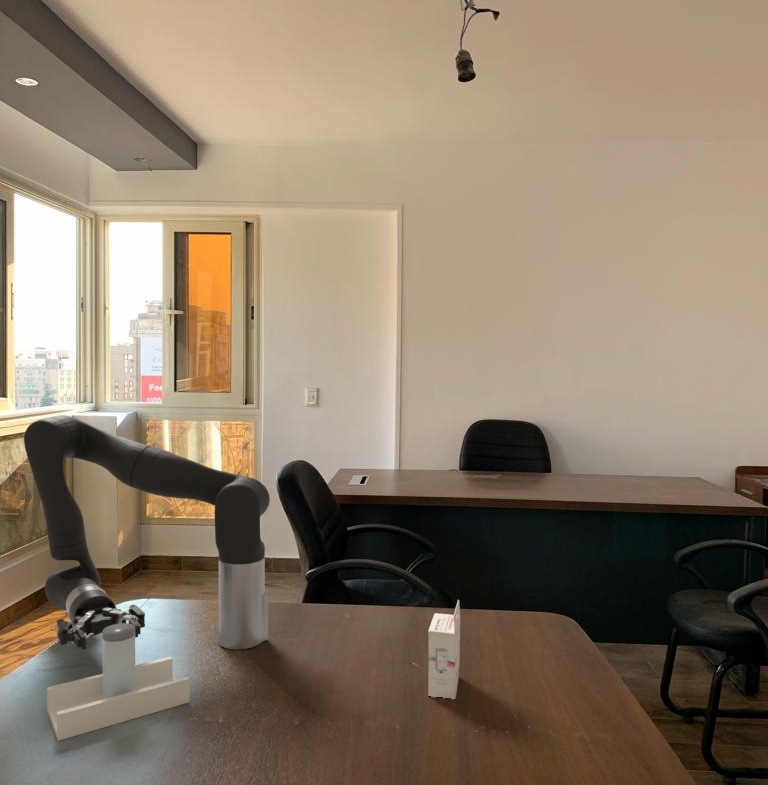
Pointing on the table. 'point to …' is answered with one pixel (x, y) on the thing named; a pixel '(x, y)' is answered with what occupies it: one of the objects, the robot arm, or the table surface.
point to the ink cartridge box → (444, 654)
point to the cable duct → (114, 699)
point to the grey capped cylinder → (118, 659)
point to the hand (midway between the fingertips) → (110, 637)
